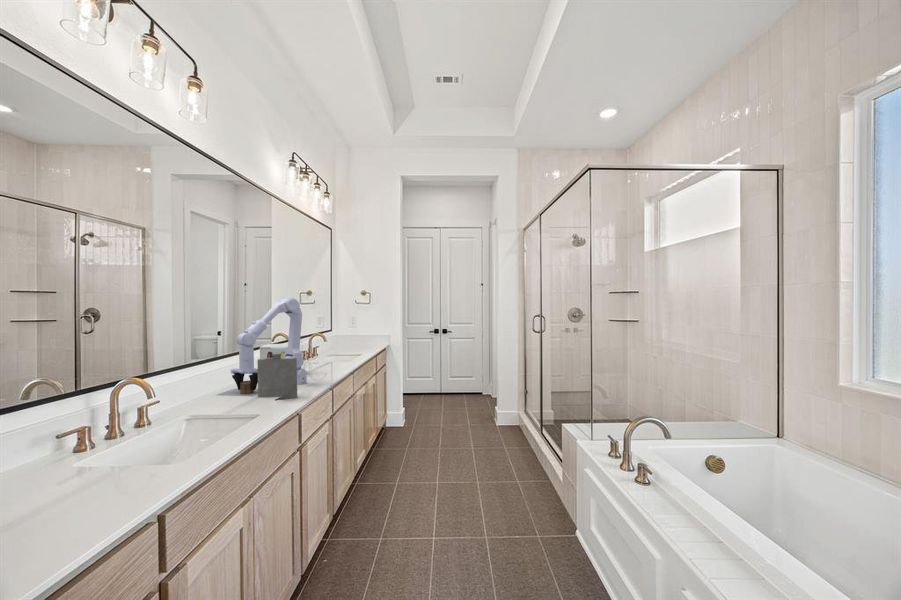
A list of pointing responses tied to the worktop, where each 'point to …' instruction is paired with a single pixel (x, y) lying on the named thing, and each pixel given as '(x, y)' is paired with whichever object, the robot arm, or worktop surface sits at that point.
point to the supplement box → (272, 350)
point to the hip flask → (277, 377)
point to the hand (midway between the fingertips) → (247, 389)
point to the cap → (245, 387)
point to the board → (237, 393)
